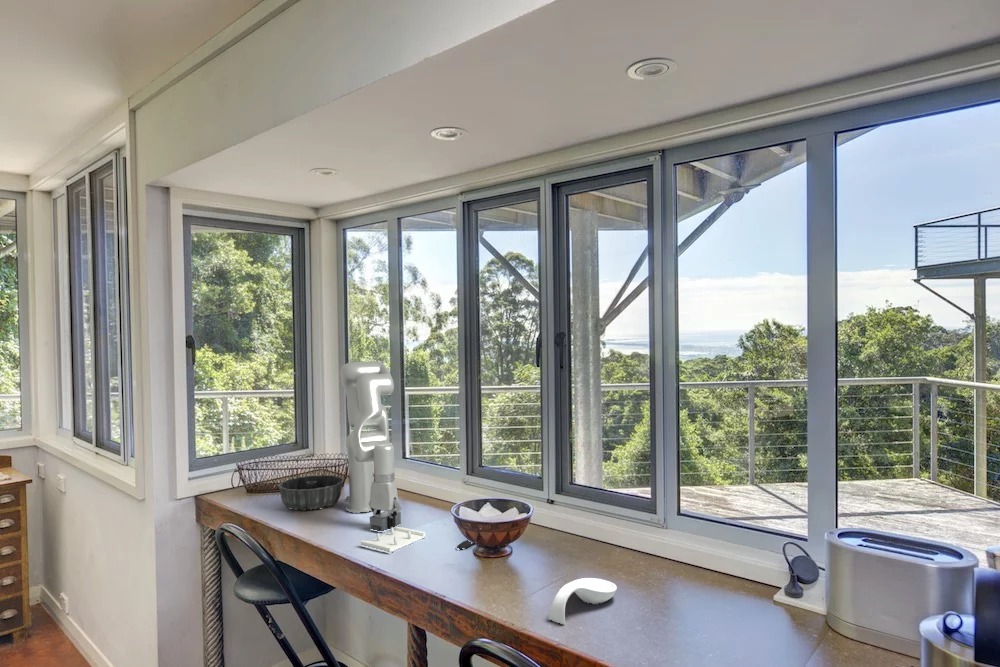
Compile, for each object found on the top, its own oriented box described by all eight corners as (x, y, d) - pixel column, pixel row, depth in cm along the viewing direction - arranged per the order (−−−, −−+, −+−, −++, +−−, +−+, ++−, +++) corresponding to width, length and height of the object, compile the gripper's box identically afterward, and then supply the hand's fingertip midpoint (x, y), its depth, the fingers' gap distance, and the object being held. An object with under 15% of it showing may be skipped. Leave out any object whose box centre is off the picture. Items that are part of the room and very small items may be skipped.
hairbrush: (448, 539, 206) (504, 519, 223) (449, 550, 206) (504, 529, 223) (464, 546, 200) (519, 525, 217) (464, 557, 200) (520, 535, 217)
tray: (361, 547, 207) (360, 536, 207) (397, 531, 222) (397, 522, 222) (389, 554, 200) (389, 543, 200) (425, 538, 215) (425, 528, 215)
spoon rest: (587, 586, 174) (587, 561, 174) (624, 597, 166) (624, 571, 166) (537, 617, 155) (537, 589, 155) (577, 631, 148) (576, 601, 148)
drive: (368, 531, 224) (368, 516, 224) (388, 523, 233) (388, 509, 233) (380, 533, 221) (380, 519, 221) (400, 525, 230) (400, 511, 230)
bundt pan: (279, 500, 267) (279, 477, 267) (342, 494, 275) (342, 472, 275) (277, 517, 242) (276, 492, 242) (346, 510, 250) (345, 486, 250)
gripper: (359, 477, 228) (360, 525, 228) (394, 482, 219) (395, 533, 219) (374, 473, 235) (375, 520, 235) (408, 478, 225) (409, 527, 225)
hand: (385, 526), depth 227 cm, fingers closed on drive, 6 cm apart
